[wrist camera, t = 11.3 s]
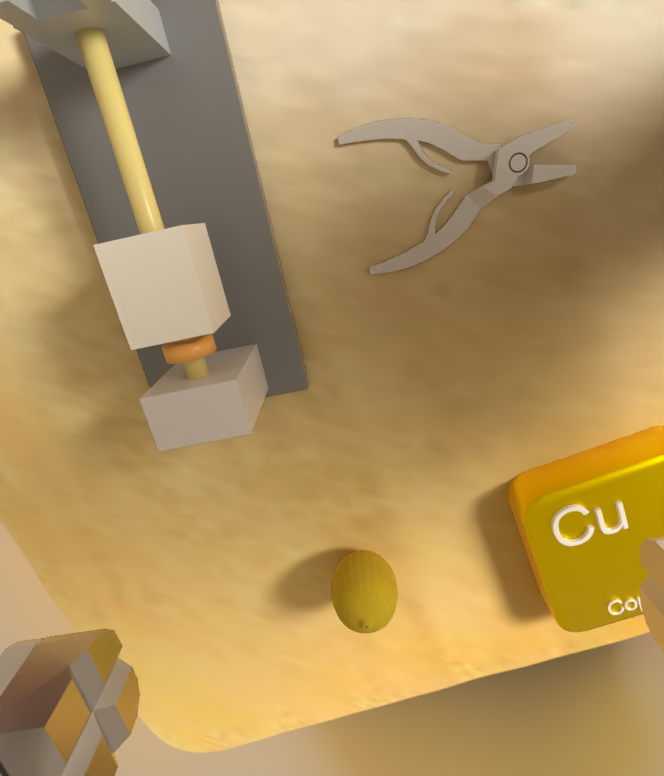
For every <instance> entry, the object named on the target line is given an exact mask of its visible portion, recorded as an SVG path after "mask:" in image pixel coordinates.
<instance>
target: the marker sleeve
mask: <svg viewBox="0 0 664 776" xmlns="http://www.w3.org/2000/svg"><path fill="white" fill-rule="evenodd" d="M93 246H94V249H95V252H96V255H97V257H98V260H99V263H100V266H101V269H102V271H103V274H104V277H105V280H106V282H107V285H108V288H109V291H110V294H111V296H112V299H113V302H114V305H115V307H116V310H117V313H118V316H119V319H120V321H121V324H122V327H123V330H124V333H125V335H126V338H127V341H128V344H129V346H130V349H131V350H134V349H139V348H144V347H149V346H154V345H159V344H163V343H168V342H173V341H178V340H183V339H188V338H192V337H197V336H202V335H207V334H212V333H214V332H215V331H216V330H217V329H218V328H219V327H220V326H221V325H222V324H223V323H224V322H225V321H226V320H227V319H228V318H229V317H230V316H231V314H230V311H229V307H228V304H227V300H226V297H225V293H224V289H223V286H222V282H221V279H220V275H219V272H218V268H217V264H216V261H215V257H214V254H213V250H212V247H211V243H210V240H209V236H208V232H207V229H206V225H205V223H198V224H188V225H180V226H176V227H171V228H167V229H162V230H158V231H154V232H149V233H145V234H140V235H136V236H131V237H127V238H122V239H118V240H113V241H109V242H104V243H100V244H95V245H93Z"/></svg>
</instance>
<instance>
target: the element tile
mask: <svg viewBox="0 0 664 776" xmlns="http://www.w3.org/2000/svg"><path fill="white" fill-rule="evenodd" d="M508 500H509V503H510V506H511V509H512V512H513V515H514V518H515V521H516V524H517V527H518V530H519V533H520V535H521V538H522V541H523V544H524V547H525V550H526V553H527V556H528V559H529V562H530V565H531V568H532V570H533V573H534V576H535V579H536V582H537V585H538V588H539V591H540V593H541V594H542V596H543V598H544V600H545V602H546V604H547V605H548V607H549V609H550V611H551V613H552V615H553V617H554V618H555V620H556V622H557V623H558V625H559V626H560V627H562V628H563V629H564V630H566V631H569V632H583V631H588V630H591V629H595V628H598V627H601V626H605V625H608V624H611V623H615V622H618V621H621V620H625V619H628V618H631V617H635V616H638V615H641V614H643V611H642V608H641V603H640V586H641V584H642V583H643V582H644V580H645V579H646V578H647V577H648V575H649V574H650V573H649V572H648V571H647V570H646V569H645V568H644V566H643V565H642V564H641V563H640V547H641V545H642V543H643V541H644V539H650V538H656V537H662V536H664V426H657V427H652V428H649V429H646V430H643V431H640V432H638V433H635V434H632V435H629V436H626V437H623V438H620V439H617V440H615V441H612V442H609V443H606V444H603V445H600V446H597V447H594V448H592V449H589V450H586V451H583V452H580V453H577V454H574V455H571V456H568V457H566V458H563V459H560V460H557V461H554V462H551V463H548V464H545V465H543V466H540V467H537V468H534V469H531V470H528V471H526V472H524V473H522V474H520V475H518V476H517V477H516V478H515V479H513V480H512V482H511V484H510V485H509V488H508Z"/></svg>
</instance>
